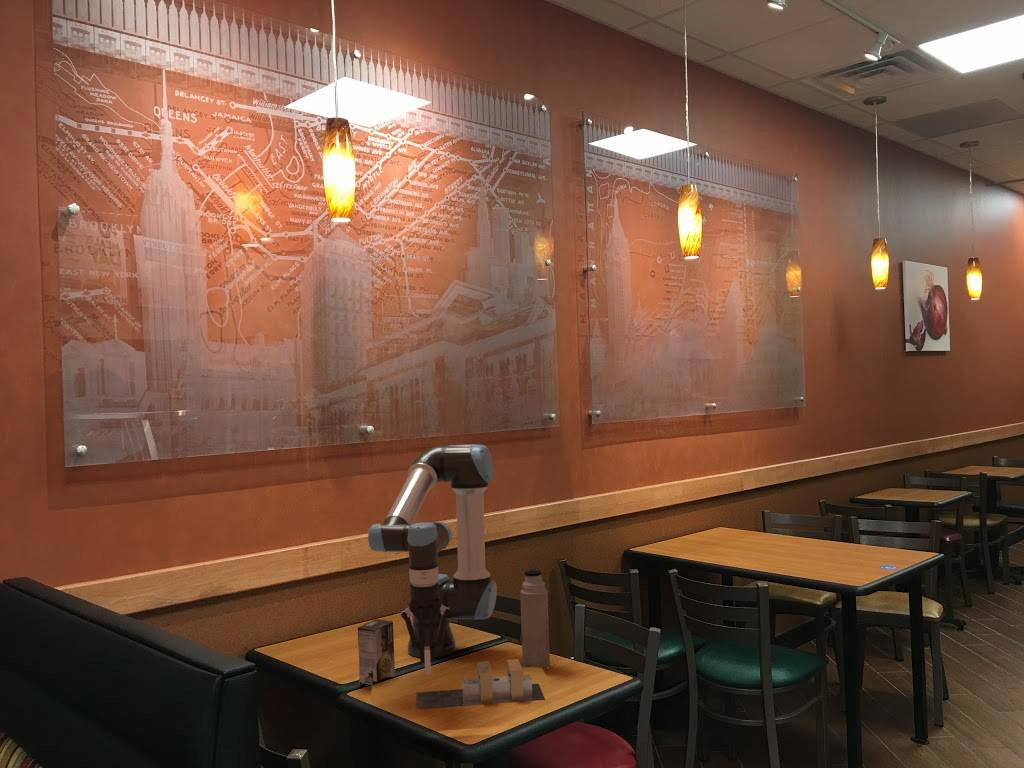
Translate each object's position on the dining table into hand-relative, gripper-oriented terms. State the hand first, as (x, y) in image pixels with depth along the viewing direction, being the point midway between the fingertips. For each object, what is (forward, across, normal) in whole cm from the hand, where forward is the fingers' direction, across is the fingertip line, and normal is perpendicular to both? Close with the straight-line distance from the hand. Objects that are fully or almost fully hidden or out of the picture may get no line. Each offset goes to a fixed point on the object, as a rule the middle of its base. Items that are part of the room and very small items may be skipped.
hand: (428, 672), depth 218 cm
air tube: (+7, +18, -1) cm, 19 cm away
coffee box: (+9, -14, +21) cm, 27 cm away
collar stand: (+8, +13, -1) cm, 16 cm away
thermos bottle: (+10, +32, +23) cm, 40 cm away
